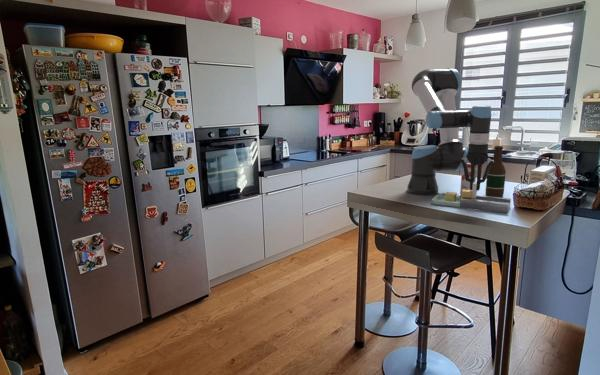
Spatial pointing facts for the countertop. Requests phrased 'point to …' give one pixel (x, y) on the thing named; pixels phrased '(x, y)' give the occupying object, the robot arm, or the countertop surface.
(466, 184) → the white red canister
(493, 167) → the beer bottle
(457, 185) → the countertop surface
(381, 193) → the countertop surface
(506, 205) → the slot board
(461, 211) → the countertop surface
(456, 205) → the tray
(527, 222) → the countertop surface
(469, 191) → the chip front
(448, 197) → the chip back
